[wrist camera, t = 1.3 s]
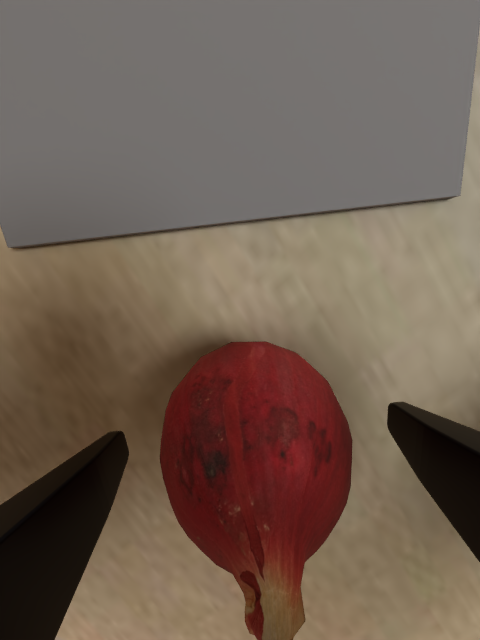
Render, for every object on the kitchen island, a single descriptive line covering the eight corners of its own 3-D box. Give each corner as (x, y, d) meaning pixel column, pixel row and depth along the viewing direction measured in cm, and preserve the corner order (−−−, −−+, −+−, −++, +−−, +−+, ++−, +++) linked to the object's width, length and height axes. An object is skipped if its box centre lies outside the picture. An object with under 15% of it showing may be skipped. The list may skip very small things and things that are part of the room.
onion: (165, 354, 11) (-14, 584, 3) (274, 296, 10) (393, 403, 2) (225, 444, 12) (205, 768, 4) (326, 397, 12) (509, 677, 4)
